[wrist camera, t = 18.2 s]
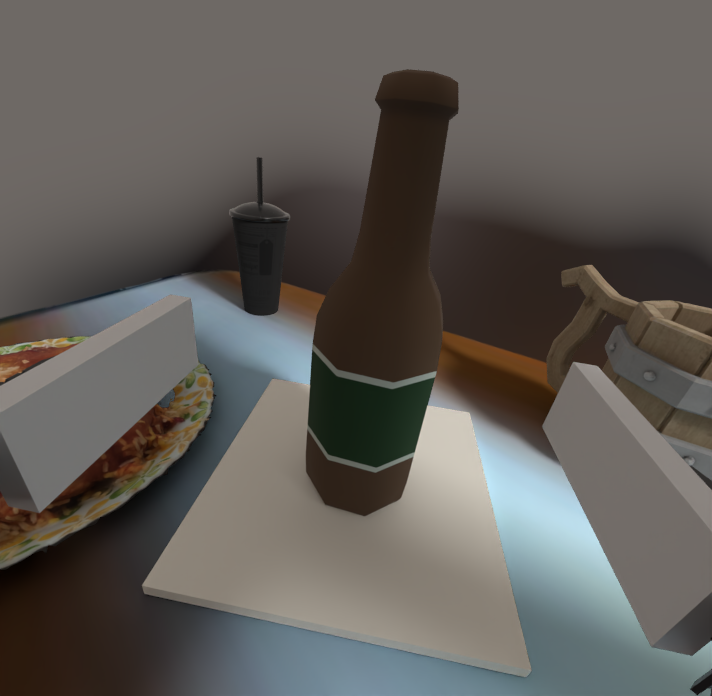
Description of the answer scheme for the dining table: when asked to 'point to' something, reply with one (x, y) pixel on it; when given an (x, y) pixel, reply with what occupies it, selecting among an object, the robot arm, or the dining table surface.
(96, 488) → the rice dish
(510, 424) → the dining table surface
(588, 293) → the tankard
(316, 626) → the square board
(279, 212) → the drinking cup
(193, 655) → the dining table surface
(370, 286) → the beer bottle
